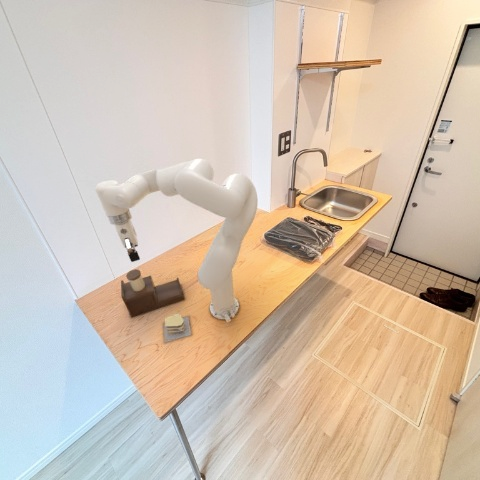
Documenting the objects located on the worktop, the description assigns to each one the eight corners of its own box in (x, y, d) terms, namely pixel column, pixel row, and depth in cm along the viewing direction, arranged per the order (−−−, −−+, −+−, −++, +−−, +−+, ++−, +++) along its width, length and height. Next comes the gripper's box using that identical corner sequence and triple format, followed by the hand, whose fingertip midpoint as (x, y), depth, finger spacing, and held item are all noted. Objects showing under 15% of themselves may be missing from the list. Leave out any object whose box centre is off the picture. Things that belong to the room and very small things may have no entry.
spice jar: (146, 289, 102) (140, 276, 98) (132, 293, 101) (126, 280, 97) (144, 280, 107) (139, 267, 102) (131, 284, 105) (126, 271, 101)
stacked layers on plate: (165, 342, 94) (161, 333, 91) (164, 323, 101) (160, 314, 98) (191, 334, 96) (188, 326, 93) (188, 316, 103) (185, 308, 100)
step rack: (184, 299, 111) (178, 278, 103) (131, 317, 105) (121, 296, 97) (180, 284, 119) (174, 264, 111) (130, 300, 112) (120, 280, 105)
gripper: (132, 224, 81) (146, 263, 91) (129, 203, 95) (142, 239, 104) (107, 230, 79) (125, 269, 89) (108, 208, 92) (123, 244, 102)
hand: (134, 253), depth 97 cm, fingers open, 9 cm apart
